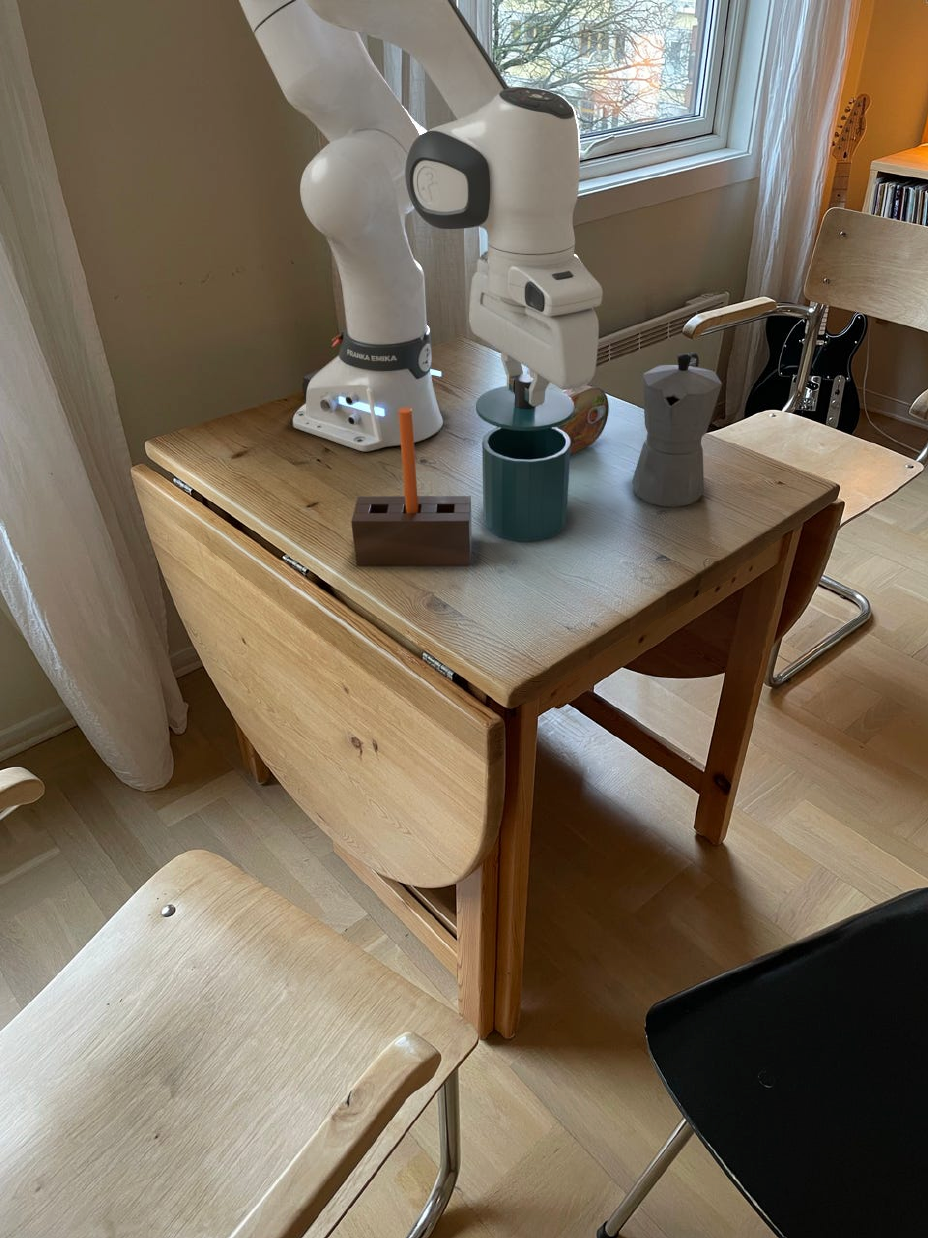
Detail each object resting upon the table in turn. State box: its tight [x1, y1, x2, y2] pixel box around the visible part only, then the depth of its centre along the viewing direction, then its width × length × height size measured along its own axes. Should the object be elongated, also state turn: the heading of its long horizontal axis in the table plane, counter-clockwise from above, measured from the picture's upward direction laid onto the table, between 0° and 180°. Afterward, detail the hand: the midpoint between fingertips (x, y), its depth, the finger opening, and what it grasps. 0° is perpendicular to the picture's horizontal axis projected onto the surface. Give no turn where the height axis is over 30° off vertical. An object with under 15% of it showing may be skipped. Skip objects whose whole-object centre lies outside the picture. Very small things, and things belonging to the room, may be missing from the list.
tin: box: [556, 384, 610, 456], centre depth 122 cm, size 15×3×8 cm, turn 131°
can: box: [481, 426, 571, 542], centre depth 107 cm, size 10×10×11 cm
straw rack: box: [351, 495, 473, 567], centre depth 103 cm, size 6×13×6 cm, turn 88°
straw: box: [399, 407, 419, 513], centre depth 99 cm, size 1×1×18 cm
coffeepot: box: [631, 352, 723, 508], centre depth 110 cm, size 15×9×18 cm, turn 159°
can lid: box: [475, 373, 575, 431], centre depth 100 cm, size 11×11×4 cm
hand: (525, 397), depth 100 cm, fingers closed on can lid, 2 cm apart
